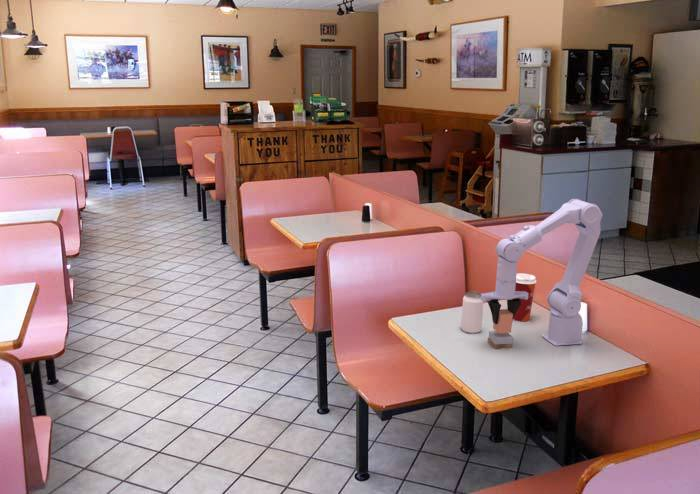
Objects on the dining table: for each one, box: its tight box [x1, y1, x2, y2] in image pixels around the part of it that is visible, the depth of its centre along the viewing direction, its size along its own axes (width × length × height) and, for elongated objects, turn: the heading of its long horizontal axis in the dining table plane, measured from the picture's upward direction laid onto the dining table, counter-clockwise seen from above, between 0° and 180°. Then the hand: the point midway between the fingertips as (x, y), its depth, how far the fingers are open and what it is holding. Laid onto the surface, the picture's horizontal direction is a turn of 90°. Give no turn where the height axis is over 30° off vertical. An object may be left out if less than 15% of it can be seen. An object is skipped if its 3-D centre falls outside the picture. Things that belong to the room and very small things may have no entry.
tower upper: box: [488, 330, 514, 344], centre depth 193 cm, size 6×6×2 cm
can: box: [460, 291, 484, 334], centre depth 203 cm, size 6×6×12 cm
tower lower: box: [487, 337, 514, 350], centre depth 193 cm, size 6×6×2 cm
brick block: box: [492, 308, 513, 334], centre depth 191 cm, size 4×4×6 cm
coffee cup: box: [513, 272, 538, 323], centre depth 214 cm, size 8×8×15 cm
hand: (502, 322), depth 192 cm, fingers closed on brick block, 4 cm apart
